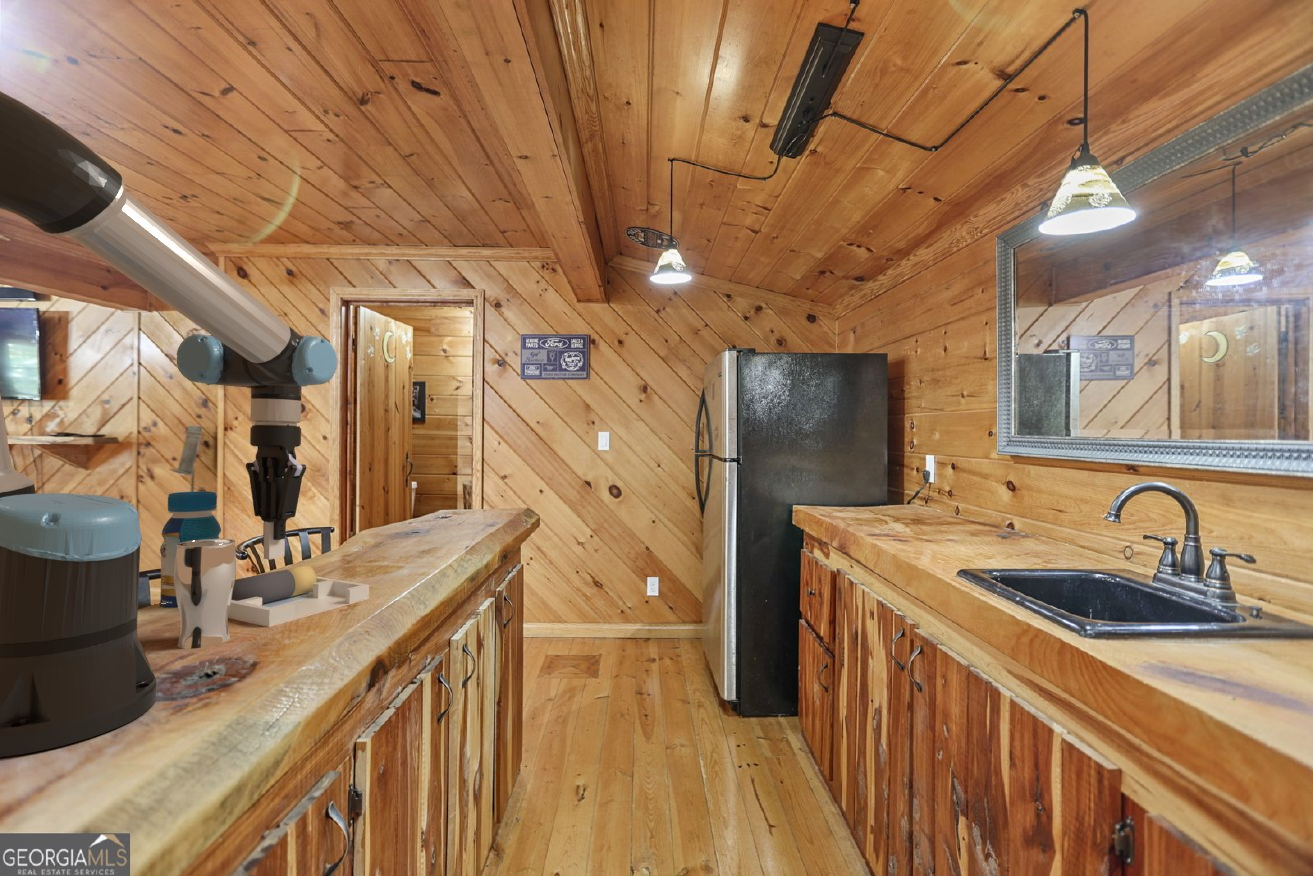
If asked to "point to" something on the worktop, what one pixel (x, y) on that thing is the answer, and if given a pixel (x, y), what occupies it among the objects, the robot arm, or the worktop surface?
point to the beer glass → (204, 590)
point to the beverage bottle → (185, 533)
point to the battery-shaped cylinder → (275, 584)
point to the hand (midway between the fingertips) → (274, 557)
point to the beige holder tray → (299, 603)
